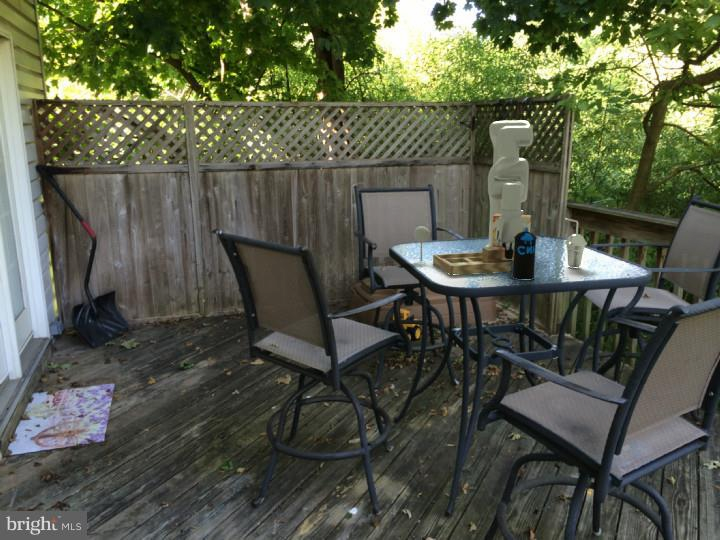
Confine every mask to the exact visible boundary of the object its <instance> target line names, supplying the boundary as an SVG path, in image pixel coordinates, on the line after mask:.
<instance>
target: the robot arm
mask: <svg viewBox="0 0 720 540" xmlns="http://www.w3.org/2000/svg"><path fill="white" fill-rule="evenodd" d="M488 128H489V129H488V130H489V136H490V137H489V138H490V141H491V143H492V148H493V157H492V158H493V161H492V163H493V165H492V166H491V167H490V170H489V172H488V175H487V176H488V177H487V192H488V196H489V228H488V231H489V232H488V244H486V245H485V246H484V248H485V247H492V235H493V215H495V214H501V217H499V219H498V223H497V229H496V240H497V243H496V244H497V245H501V246H503V247H504V249H505V258H506V259H512V257H513V249H514V243H515V238H514V237H515V236H516V235H517V234H518V233H520V232H522V231H523V223H522V217H520V216H521V215H524V210H522V209H521V208H522V203H524V202H525V201H526V200H527V198H528V191H529V189H528V188H529V177H530V176H529V175H530V174H529V173H530V168H529V166H530V165H529V162H528V160H527V159H526V158H523V157H520V147H530V146H532V144H533V141H534V130H533V127H532V126H531V124H530V122H529V121H528V120H499V121H493V122H492V123H490V125H489V127H488ZM496 179H497V180H496ZM509 242H510V244H509Z"/></svg>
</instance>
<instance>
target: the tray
mask: <svg viewBox="0 0 720 540" xmlns="http://www.w3.org/2000/svg"><path fill="white" fill-rule="evenodd" d="M432 257H433V258H432V264H433V265H434V266H435V265H436V267H437V268H438V267H439V268H438V269H440V270H441V269H442V270H441V271H443V270H444V271H445V272H444V271H443V272H444V273H446V272H447V273H449V274H450V275H453V274H473V273H491V274H494V273H493V272H507V273H509V272H508V271H512V269H511V268H512V261H506V262H505V261H502V262H500V263H483V262H482V252H480V251H479V252H460V253H445V254H443V253H442V254H432ZM447 273H446V274H447ZM450 275H449V276H450Z"/></svg>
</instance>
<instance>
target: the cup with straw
mask: <svg viewBox="0 0 720 540" xmlns="http://www.w3.org/2000/svg"><path fill="white" fill-rule="evenodd" d="M564 220H565V221H568V222H573V223H576V228H575V233H573V234H571V235H569V236H568V238H567V239H566V240H565V242H564V244H565V246H566V250H567V252H566V253H567V254H566V255H567V265H568V266H570V267H579V266H581V265H582V264H581V263H582V259H583V254H584V250H585V246H587V245H588V243H587V241H586V240H585V238H584V236H583V235H582V234H580V233H579V221H578V220H575V219H571V218H566V217H564ZM568 266H567V267H568Z"/></svg>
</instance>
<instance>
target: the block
mask: <svg viewBox="0 0 720 540" xmlns="http://www.w3.org/2000/svg"><path fill="white" fill-rule="evenodd" d="M481 248H482V249H481V250H482V262H483V263H500V262H503V260H502V249H500V248H498V247H485V246H484V247H481Z"/></svg>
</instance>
